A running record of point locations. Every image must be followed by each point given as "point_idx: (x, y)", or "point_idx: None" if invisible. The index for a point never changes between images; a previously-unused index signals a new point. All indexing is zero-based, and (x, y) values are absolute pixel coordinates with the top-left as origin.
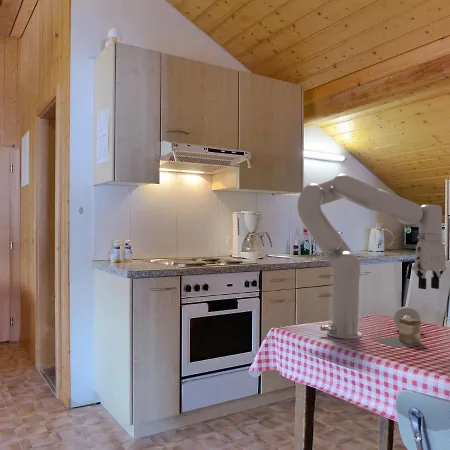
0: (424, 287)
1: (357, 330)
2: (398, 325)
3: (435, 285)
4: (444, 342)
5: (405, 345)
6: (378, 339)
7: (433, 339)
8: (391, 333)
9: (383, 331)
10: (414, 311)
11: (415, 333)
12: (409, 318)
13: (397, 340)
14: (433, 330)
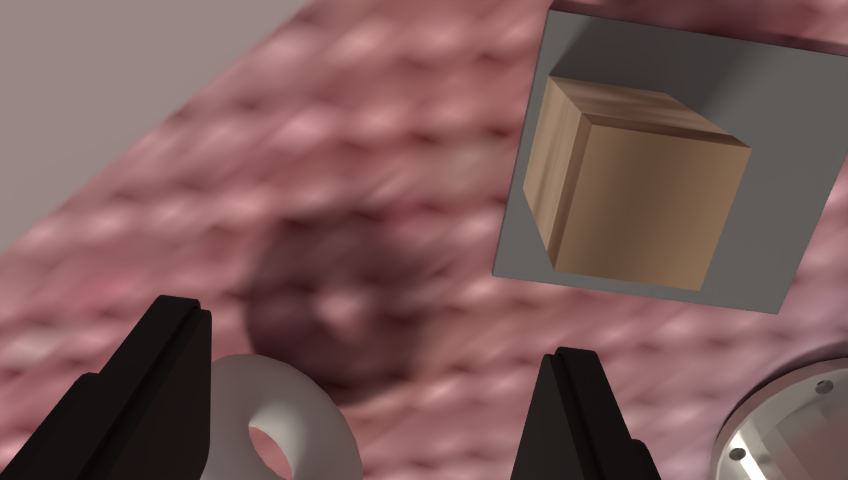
0: (598, 380)
1: (819, 425)
2: (353, 435)
3: (186, 395)
4: (279, 36)
5: (739, 70)
6: (750, 281)
7: (286, 146)
8: (452, 387)
9: (456, 443)
10: (221, 462)
11: (625, 102)
12: (604, 250)
13: None
14: (36, 343)
